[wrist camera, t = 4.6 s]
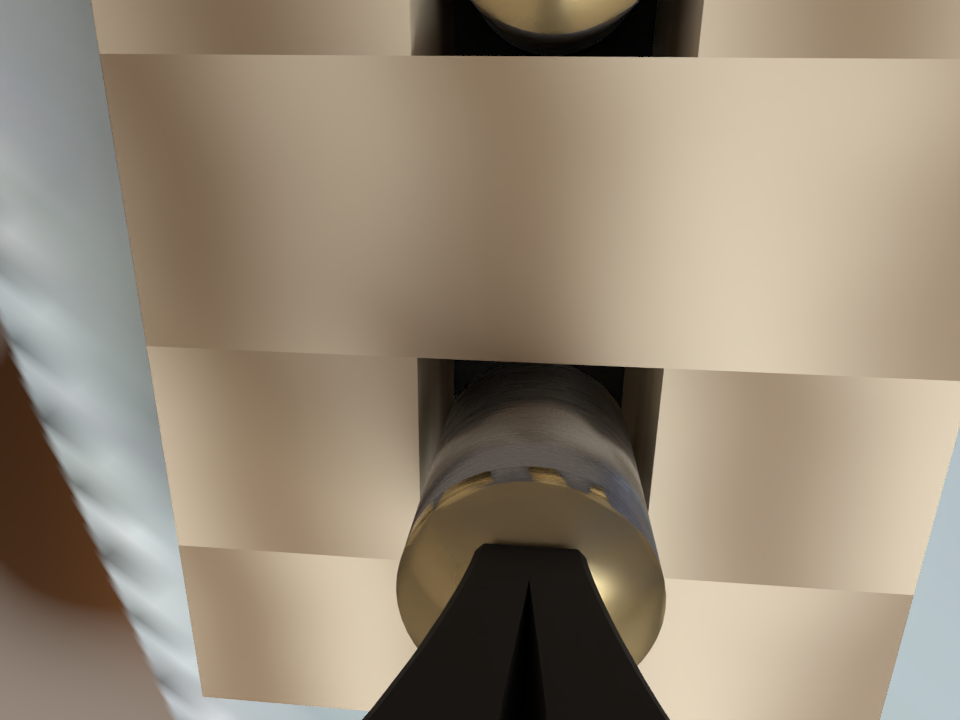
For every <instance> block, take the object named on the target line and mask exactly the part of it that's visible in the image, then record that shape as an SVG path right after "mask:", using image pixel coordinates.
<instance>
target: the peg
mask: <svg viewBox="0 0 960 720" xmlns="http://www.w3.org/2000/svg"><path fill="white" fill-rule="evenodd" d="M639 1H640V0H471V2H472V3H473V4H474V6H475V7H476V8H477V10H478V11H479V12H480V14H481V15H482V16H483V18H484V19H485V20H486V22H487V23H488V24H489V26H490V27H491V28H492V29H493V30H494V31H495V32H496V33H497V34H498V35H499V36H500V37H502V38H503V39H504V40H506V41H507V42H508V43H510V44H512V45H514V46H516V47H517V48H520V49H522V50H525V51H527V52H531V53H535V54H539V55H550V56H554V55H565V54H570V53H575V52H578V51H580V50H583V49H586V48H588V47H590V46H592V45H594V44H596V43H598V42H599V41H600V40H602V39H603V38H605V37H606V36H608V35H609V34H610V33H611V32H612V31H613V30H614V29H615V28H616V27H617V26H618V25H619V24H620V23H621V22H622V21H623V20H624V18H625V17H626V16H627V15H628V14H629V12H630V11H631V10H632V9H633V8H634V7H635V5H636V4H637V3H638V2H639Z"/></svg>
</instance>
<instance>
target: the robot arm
mask: <svg viewBox="0 0 960 720" xmlns="http://www.w3.org/2000/svg"><path fill="white" fill-rule="evenodd" d="M362 720H670V719H669V717H668V716H667V714H666V713H665V711H664V710H663V708H662V707H661V705H660V703H659V702H658V700H657V698H656V697H655V695H654V694H653V692H652V690H651V689H650V687H649V685H648V684H647V682H646V680H645V679H644V677H643V675H642V673H641V672H640V670H639V668H638V666H637V664H636V663H635V661H634V659H633V657H632V656H631V654H630V652H629V650H628V649H627V647H626V645H625V643H624V642H623V640H622V638H621V636H620V634H619V632H618V630H617V628H616V626H615V624H614V623H613V621H612V618H611V616H610V614H609V612H608V610H607V608H606V606H605V604H604V602H603V600H602V598H601V595H600V593H599V591H598V589H597V586H596V584H595V582H594V579H593V577H592V574H591V571H590V569H589V566H588V563H587V559H586V557H585V556H584V555H583V554H582V553H581V552H580V551H579V550H578V549H566V548H551V547H535V546H520V545H504V544H489V543H484V544H483V545H481V546H480V547H479V548H477V549H476V550H475V552H474V555H473V557H472V559H471V562H470V564H469V566H468V568H467V570H466V572H465V574H464V576H463V577H462V579H461V581H460V583H459V585H458V586H457V588H456V590H455V592H454V593H453V595H452V596H451V598H450V600H449V601H448V603H447V605H446V606H445V608H444V610H443V611H442V613H441V614H440V616H439V617H438V619H437V620H436V622H435V623H434V625H433V626H432V628H431V629H430V631H429V632H428V634H427V635H426V637H425V638H424V640H423V641H422V643H421V644H420V646H419V647H418V648H417V650H416V651H415V653H414V654H413V655H412V657H411V658H410V660H409V661H408V662H407V664H406V665H405V666H404V667H403V669H402V670H401V671H400V673H399V674H398V675H397V677H396V678H395V679H394V680H393V682H392V683H391V684H390V686H389V687H388V688H387V689H386V691H385V692H384V693H383V695H382V696H381V697H380V698H379V700H378V701H377V702H376V704H375V705H374V706H373V707H372V709H371V710H370V711H369V712H368V714H367V715H366V716H365V717H364V718H363V719H362Z"/></svg>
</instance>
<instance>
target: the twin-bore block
mask: <svg viewBox="0 0 960 720" xmlns="http://www.w3.org/2000/svg"><path fill="white" fill-rule="evenodd" d="M91 4H92V10H93V16H94V23H95V29H96V35H97V41H98V47H99V54H100V60H101V66H102V72H103V78H104V85H105V91H106V97H107V103H108V110H109V116H110V122H111V128H112V134H113V141H114V147H115V153H116V159H117V165H118V172H119V178H120V184H121V190H122V197H123V203H124V209H125V215H126V221H127V228H128V234H129V240H130V246H131V252H132V259H133V265H134V271H135V277H136V284H137V290H138V296H139V302H140V308H141V315H142V321H143V327H144V333H145V339H146V346H147V352H148V358H149V364H150V371H151V377H152V383H153V389H154V395H155V402H156V408H157V414H158V420H159V427H160V433H161V439H162V445H163V451H164V458H165V464H166V470H167V476H168V482H169V489H170V495H171V501H172V507H173V514H174V520H175V526H176V532H177V538H178V545H179V551H180V557H181V563H182V569H183V576H184V582H185V588H186V594H187V601H188V607H189V613H190V619H191V625H192V632H193V638H194V644H195V650H196V656H197V663H198V669H199V675H200V681H201V688H202V694H203V697H214V698H225V699H237V700H248V701H260V702H271V703H283V704H294V705H306V706H317V707H329V708H340V709H352V710H364V711H370V710H371V709H372V707H373V706H374V705H375V704H376V702H377V701H378V700H379V698H380V697H381V696H382V695H383V693H384V692H385V691H386V689H387V688H388V687H389V686H390V684H391V683H392V682H393V680H394V679H395V678H396V677H397V675H398V674H399V673H400V671H401V670H402V669H403V667H404V666H405V665H406V664H407V662H408V661H409V660H410V658H411V657H412V655H413V654H414V653H415V651H416V650H417V647H416V646H415V644H414V643H413V641H412V639H411V638H410V636H409V634H408V633H407V631H406V628H405V626H404V624H403V621H402V619H401V615H400V612H399V608H398V604H397V595H396V579H397V572H398V567H399V562H400V559H401V556H402V553H403V550H404V547H405V544H406V541H407V538H408V535H409V532H410V529H411V526H412V523H413V520H414V517H415V514H416V511H417V508H418V505H419V502H420V499H421V495H422V492H423V489H424V486H425V483H426V480H427V477H428V474H429V471H430V468H431V465H432V462H433V459H434V456H435V453H436V450H437V447H438V444H439V441H440V438H441V435H442V432H443V429H444V426H445V423H446V420H447V417H448V414H449V412H450V409H451V408H452V406H453V404H454V359H458V360H481V361H504V362H528V363H551V364H574V365H597V366H621V367H625V372H624V383H623V395H622V406H621V411H622V414H623V416H624V418H625V421H626V425H627V428H628V432H629V436H630V440H631V445H632V449H633V453H634V457H635V461H636V465H637V469H638V473H639V478H640V482H641V486H642V490H643V494H644V498H645V502H646V506H647V511H648V515H649V519H650V523H651V527H652V531H653V535H654V539H655V544H656V548H657V552H658V556H659V560H660V564H661V568H662V572H663V576H664V581H665V590H666V610H665V615H664V620H663V624H662V627H661V630H660V632H659V635H658V637H657V639H656V641H655V643H654V645H653V646H652V648H651V650H650V651H649V653H648V654H647V655H646V656H645V658H644V659H643V660H642V662H641V663H640V664H639V665H638V668H639V670H640V672H641V673H642V675H643V677H644V679H645V680H646V682H647V684H648V685H649V687H650V689H651V690H652V692H653V694H654V695H655V697H656V698H657V700H658V702H659V703H660V705H661V707H662V708H663V710H664V711H665V713H666V714H667V716H668V717H669V719H670V720H880V717H881V713H882V710H883V706H884V702H885V699H886V695H887V691H888V687H889V684H890V680H891V676H892V673H893V669H894V665H895V662H896V658H897V654H898V651H899V647H900V643H901V640H902V636H903V632H904V629H905V625H906V621H907V618H908V614H909V610H910V607H911V603H912V599H913V596H914V592H915V588H916V585H917V581H918V577H919V574H920V570H921V566H922V563H923V559H924V555H925V552H926V548H927V544H928V541H929V537H930V533H931V530H932V526H933V522H934V519H935V515H936V511H937V508H938V504H939V500H940V497H941V493H942V489H943V486H944V482H945V478H946V475H947V471H948V467H949V463H950V460H951V456H952V452H953V449H954V445H955V441H956V438H957V434H958V430H959V427H960V0H657V9H656V21H655V32H654V43H653V55H652V57H547V56H454V0H91Z"/></svg>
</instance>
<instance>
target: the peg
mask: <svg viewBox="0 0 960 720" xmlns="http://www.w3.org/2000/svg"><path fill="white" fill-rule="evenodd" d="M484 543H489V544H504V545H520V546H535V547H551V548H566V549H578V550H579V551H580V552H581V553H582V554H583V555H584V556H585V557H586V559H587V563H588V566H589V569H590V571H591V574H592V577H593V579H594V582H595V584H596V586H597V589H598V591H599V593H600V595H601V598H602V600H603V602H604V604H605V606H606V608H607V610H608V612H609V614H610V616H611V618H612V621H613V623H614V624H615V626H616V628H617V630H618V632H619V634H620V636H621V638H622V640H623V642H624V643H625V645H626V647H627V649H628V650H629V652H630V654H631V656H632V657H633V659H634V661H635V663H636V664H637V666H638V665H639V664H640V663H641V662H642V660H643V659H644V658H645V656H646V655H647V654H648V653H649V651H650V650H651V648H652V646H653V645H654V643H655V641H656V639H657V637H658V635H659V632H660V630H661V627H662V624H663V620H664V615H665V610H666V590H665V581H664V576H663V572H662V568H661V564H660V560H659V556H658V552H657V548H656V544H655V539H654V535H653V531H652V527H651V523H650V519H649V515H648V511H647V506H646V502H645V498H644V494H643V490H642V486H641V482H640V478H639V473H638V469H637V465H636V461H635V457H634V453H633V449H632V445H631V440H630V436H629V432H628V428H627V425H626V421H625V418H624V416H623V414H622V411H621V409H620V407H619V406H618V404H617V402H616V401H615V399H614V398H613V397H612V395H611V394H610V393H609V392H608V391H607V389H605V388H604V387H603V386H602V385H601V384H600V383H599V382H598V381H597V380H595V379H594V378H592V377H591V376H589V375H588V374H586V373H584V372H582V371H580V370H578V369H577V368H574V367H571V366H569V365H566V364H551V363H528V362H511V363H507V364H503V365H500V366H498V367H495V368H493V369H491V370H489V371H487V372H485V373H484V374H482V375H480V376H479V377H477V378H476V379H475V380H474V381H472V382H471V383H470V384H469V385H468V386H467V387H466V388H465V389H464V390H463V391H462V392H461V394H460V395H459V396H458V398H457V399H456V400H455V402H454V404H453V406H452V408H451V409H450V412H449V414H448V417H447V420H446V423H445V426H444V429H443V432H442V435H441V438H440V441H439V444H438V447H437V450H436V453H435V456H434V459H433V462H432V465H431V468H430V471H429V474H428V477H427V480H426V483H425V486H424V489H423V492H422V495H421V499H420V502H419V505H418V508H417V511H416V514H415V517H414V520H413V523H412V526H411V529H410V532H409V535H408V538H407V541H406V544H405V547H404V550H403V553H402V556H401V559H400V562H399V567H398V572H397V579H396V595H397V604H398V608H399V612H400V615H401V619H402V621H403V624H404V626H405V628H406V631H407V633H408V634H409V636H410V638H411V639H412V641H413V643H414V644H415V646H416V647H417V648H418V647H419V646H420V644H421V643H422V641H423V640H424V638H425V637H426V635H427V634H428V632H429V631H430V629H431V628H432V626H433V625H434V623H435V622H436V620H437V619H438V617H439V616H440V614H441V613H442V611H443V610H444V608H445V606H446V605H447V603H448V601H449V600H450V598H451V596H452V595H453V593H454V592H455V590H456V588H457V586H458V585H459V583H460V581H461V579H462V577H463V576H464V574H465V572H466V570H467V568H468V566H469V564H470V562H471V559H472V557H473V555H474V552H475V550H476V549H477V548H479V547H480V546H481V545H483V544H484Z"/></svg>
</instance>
